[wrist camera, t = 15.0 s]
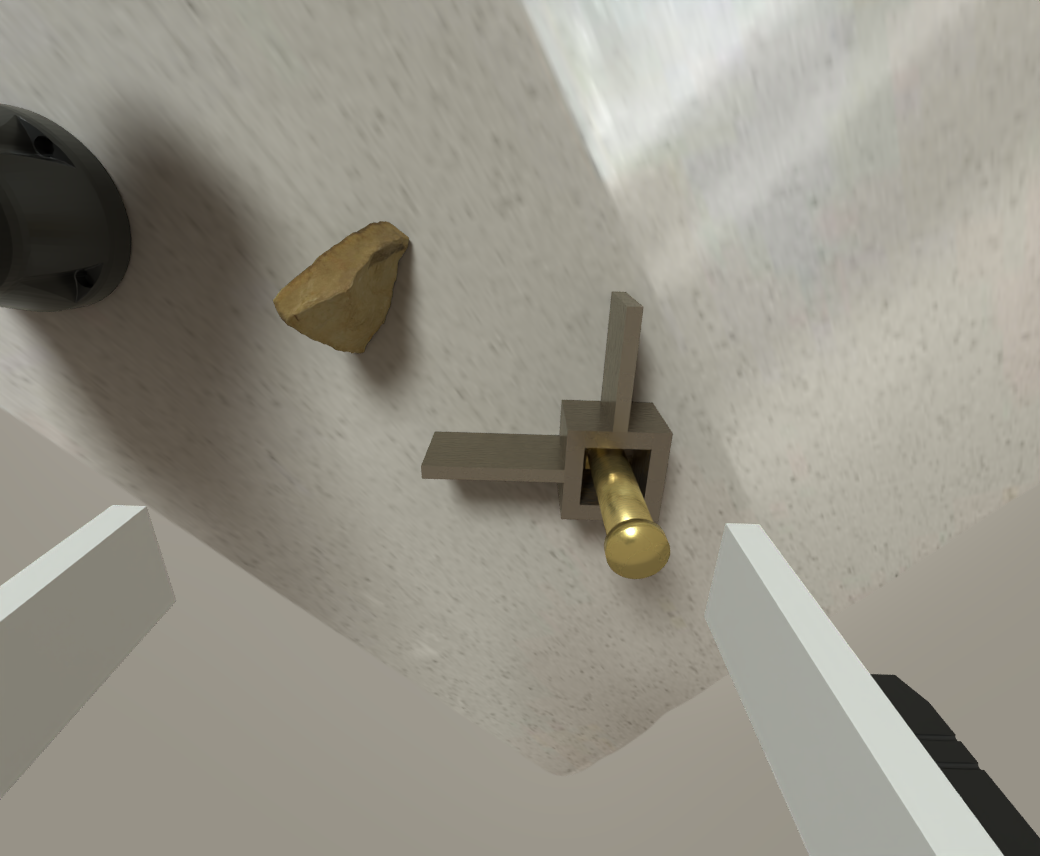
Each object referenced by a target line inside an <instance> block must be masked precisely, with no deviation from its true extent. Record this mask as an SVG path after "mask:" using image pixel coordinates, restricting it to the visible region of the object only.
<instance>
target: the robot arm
mask: <svg viewBox="0 0 1040 856" xmlns="http://www.w3.org/2000/svg"><path fill="white" fill-rule="evenodd" d="M130 249H131V237H130V228H129V222H128V218H127V214H126V211H125V208H124V205H123V202H122V200H121V198H120V195H119V193H118V191H117V189H116V187H115V185H114V183H113V182H112V180H111V178H110V177H109V175H108V174H107V172H106V171H105V169H104V168H103V167H102V165H101V164H100V163H99V161H98V160H97V159H96V158H95V156H94V155H93V154H92V153H91V152H90V151H89V150H88V149H87V148H86V147H85V146H84V145H83V144H82V143H81V142H80V141H79V140H78V139H76V138H75V137H74V136H73V135H72V134H70V133H69V132H68V131H66V130H65V129H64V128H62V127H61V126H59V125H58V124H56V123H54V122H53V121H51V120H49V119H47V118H45V117H43V116H41V115H39V114H37V113H34V112H32V111H29V110H26V109H23V108H19V107H15V106H10V105H5V104H0V307H6V308H13V309H21V310H29V311H37V312H56V311H64V310H69V309H73V308H78V307H82V306H86V305H90V304H93V303H95V302H97V301H100V300H101V299H103V298H105V297H106V296H107V295H109V294H110V293H111V292H112V291H113V290H114V289H115V288H116V287H117V286H118V284H119V283H120V281H121V280H122V278H123V276H124V274H125V272H126V269H127V266H128V262H129V258H130ZM175 602H176V599H175V595H174V592H173V589H172V586H171V583H170V579H169V576H168V573H167V570H166V567H165V564H164V560H163V557H162V554H161V551H160V548H159V545H158V541H157V538H156V535H155V532H154V529H153V526H152V522H151V519H150V516H149V513H148V510H147V507H146V506H124V505H123V506H122V505H112V506H111V507H109V508H108V509H106V510H105V511H104V512H103V513H101V514H100V515H98V516H97V517H95V518H94V519H93V520H92V521H90V522H88V523H87V524H86V525H84V526H83V527H82V528H80V529H79V530H78V531H76V532H75V533H73V534H72V535H71V536H69V537H68V538H66V539H65V540H64V541H62V542H61V543H60V544H58V545H57V546H55V547H54V548H53V549H51V550H50V551H48V552H47V553H46V554H44V555H43V556H41V557H40V558H39V559H38V560H36V561H35V562H33V563H32V564H30V565H29V566H28V567H26V568H25V569H24V570H22V571H21V572H20V573H18V574H17V575H15V576H14V577H12V578H11V579H10V580H8V581H7V582H6V583H4V584H3V585H1V586H0V800H1V798H2V797H3V796H4V795H5V794H6V792H8V791H9V789H10V788H11V787H12V786H13V785H14V784H15V783H16V781H17V780H18V779H19V778H20V777H21V776H22V775H23V774H24V772H25V771H26V770H27V769H28V768H29V767H30V766H31V765H32V763H33V762H34V761H35V760H36V759H37V758H38V757H39V755H40V754H41V753H42V752H43V751H44V750H45V749H46V748H47V746H48V745H49V744H50V743H51V742H52V741H53V740H54V738H55V737H56V736H57V735H58V734H59V733H60V732H61V730H62V729H63V728H64V727H65V726H66V725H67V724H68V723H69V722H70V720H71V719H72V718H73V717H74V716H75V715H76V714H77V713H78V711H79V710H80V709H81V708H82V707H83V706H84V705H85V703H86V702H87V701H88V700H89V699H90V698H91V697H92V696H93V694H94V693H95V692H96V691H97V690H98V689H99V687H100V686H101V685H102V684H103V683H104V682H105V681H106V680H107V679H108V677H109V676H110V675H111V674H112V673H113V672H114V671H115V669H116V668H117V667H118V666H119V665H120V664H121V663H122V662H123V660H124V659H125V658H126V657H127V656H128V655H129V654H130V652H132V650H133V649H134V648H135V647H136V646H137V645H138V644H139V642H140V641H141V640H142V639H143V638H144V637H145V636H146V635H147V633H148V632H149V631H150V630H151V629H152V628H153V627H154V626H155V624H156V623H157V622H158V621H159V620H160V619H161V618H162V616H163V615H164V614H165V613H166V612H167V611H168V610H169V609H170V607H171V606H172V605H173V604H174V603H175ZM704 617H705V619H706V621H707V624H708V626H709V628H710V631H711V633H712V635H713V637H714V640H715V642H716V644H717V646H718V649H719V651H720V653H721V656H722V658H723V660H724V662H725V665H726V667H727V669H728V672H729V674H730V676H731V678H732V681H733V683H734V685H735V688H736V690H737V692H738V694H739V697H740V699H741V701H742V704H743V706H744V708H745V710H746V713H747V715H748V717H749V719H750V722H751V724H752V726H753V729H754V731H755V733H756V735H757V738H758V740H759V742H760V744H761V747H762V749H763V751H764V753H765V756H766V758H767V760H768V763H769V765H770V767H771V769H772V772H773V774H774V777H775V779H776V781H777V783H778V786H779V788H780V790H781V793H782V795H783V797H784V799H785V801H786V804H787V806H788V808H789V810H790V813H791V815H792V818H793V820H794V822H795V824H796V827H797V829H798V831H799V834H800V836H801V838H802V840H803V843H804V845H805V847H806V850H807V852H808V854H809V856H1040V838H1039V837H1038V835H1037V834H1036V833H1035V832H1034V831H1033V829H1032V828H1031V827H1030V826H1029V825H1028V823H1027V822H1026V821H1025V820H1024V818H1023V817H1022V816H1021V815H1020V813H1019V812H1018V811H1017V810H1016V808H1015V807H1014V806H1013V805H1012V804H1011V802H1010V801H1009V800H1008V799H1007V797H1006V796H1005V795H1004V794H1003V793H1002V791H1001V790H1000V789H999V788H998V786H997V785H996V784H995V783H994V782H993V780H992V779H991V778H990V777H989V775H988V774H987V773H986V772H985V771H984V770H981V769H980V768H979V767H978V762H977V761H976V760H975V758H974V757H973V756H972V755H971V753H970V752H969V751H968V750H967V748H966V747H965V746H964V745H963V744H962V742H961V741H957V740H956V738H955V734H954V732H953V731H952V730H951V729H950V728H949V726H948V725H947V724H946V723H945V721H944V720H943V719H942V718H941V717H940V715H939V714H938V713H937V712H936V710H935V709H934V708H933V707H932V706H931V704H930V703H929V702H928V701H927V700H925V699H924V698H923V697H922V696H920V695H919V694H918V693H917V692H915V691H914V690H913V689H912V688H910V687H909V686H908V685H907V684H905V683H904V682H903V681H901V680H900V679H899V678H898V677H897V676H896V675H878V674H869V672H868V671H867V670H866V668H865V667H864V665H863V664H862V663H861V661H860V660H859V659H858V657H857V656H856V655H855V653H854V652H853V651H852V649H851V648H850V647H849V645H848V644H847V643H846V641H845V640H844V638H843V637H842V636H841V634H840V633H839V632H838V630H837V629H836V628H835V626H834V625H833V623H832V622H831V621H830V619H829V618H828V617H827V615H826V614H825V613H824V611H823V610H822V609H821V607H820V606H819V605H818V603H817V602H816V600H815V599H814V598H813V596H812V595H811V594H810V592H809V591H808V590H807V588H806V587H805V586H804V584H803V583H802V582H801V580H800V579H799V577H798V576H797V575H796V573H795V572H794V571H793V569H792V568H791V567H790V565H789V564H788V563H787V561H786V560H785V558H784V557H783V556H782V554H781V553H780V552H779V550H778V549H777V548H776V546H775V545H774V544H773V542H772V541H771V540H770V538H769V537H768V535H767V534H766V533H765V531H764V530H763V529H762V527H761V526H760V525H759V524H731V523H726V524H725V528H724V533H723V537H722V541H721V546H720V550H719V554H718V559H717V563H716V567H715V572H714V576H713V580H712V585H711V589H710V593H709V598H708V602H707V606H706V611H705V615H704Z"/></svg>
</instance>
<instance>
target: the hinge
mask: <svg viewBox="0 0 1040 856" xmlns="http://www.w3.org/2000/svg"><path fill="white" fill-rule="evenodd" d="M642 314H643V306H642V305H641V304H639V303H638V302H637V301H636V300H635V299H633V298H632V297H631V296H630V295H629V294H628V293H626V292H612V294H611V304H610V314H609V324H608V334H607V344H606V354H605V364H604V374H603V384H602V394H601V401H580V400H562V405H561V420H560V435H528V434H495V433H462V432H435V433H434V435H433V438H432V440H431V443H430V445H429V448H428V450H427V453H426V455H425V458H424V460H423V463H422V465H421V471H422V478H423V479H457V480H490V481H524V482H557V488H558V497H559V505H560V514H561V519H576V520H603V518H602V514H601V510H600V506H599V502H598V498H597V494H596V490H595V486H594V482H593V478H592V474H591V470H590V469H585V465H584V459H585V448H614V449H624V451H625V454H626V456H627V459H628V461H629V464H630V466H631V468H632V471H633V473H634V476H635V478H636V481H637V483H638V486H639V488H640V491H641V493H642V495H643V498H644V500H645V503H646V505H647V508H648V510H649V513H650V515H651V518H652V520H653V522H658V519H659V513H660V507H661V501H662V495H663V489H664V483H665V477H666V471H667V465H668V459H669V453H670V447H671V441H672V435H673V433H672V432H671V430H670V429H669V427H668V426H667V424H666V422H665V421H664V419H663V418H662V416H661V415H660V413H659V412H658V410H657V409H656V407H655V406H654V404H653V403H646V402H632V394H633V386H634V378H635V370H636V362H637V354H638V346H639V338H640V330H641V322H642Z"/></svg>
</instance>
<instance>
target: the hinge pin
mask: <svg viewBox="0 0 1040 856" xmlns="http://www.w3.org/2000/svg"><path fill="white" fill-rule="evenodd" d="M584 465H585V469H590V470H591V474H592V478H593V482H594V486H595V490H596V494H597V498H598V502H599V506H600V510H601V514H602V518H603V522H604V526H605V530H606V534H607V536H606V538H605V542H604V550H605V555H606V559H607V563H608V565H609V566H610V568H611V569H612V570H613V571H614V572H615V573H616V574H618V575H620V576H622V577H625V578H630V579H641V578H646V577H649V576H652V575H654V574H655V573H657V572H659V571H660V570H661V569H662V568H663V567H664V566H665V565H666V563H667V561H668V559H669V556H670V546H669V543H668V540H667V538H666V536H665V533H664V531H663V530H662V529H661V527H660V526H659V525H657V524H656V523H654V522H653V520H652V518H651V515H650V513H649V510H648V508H647V505H646V503H645V500H644V498H643V495H642V493H641V491H640V488H639V486H638V483H637V481H636V478H635V476H634V473H633V471H632V468H631V466H630V464H629V461H628V459H627V456H626V454H625V451H624V449H614V448H585V459H584Z"/></svg>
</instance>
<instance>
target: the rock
mask: <svg viewBox="0 0 1040 856" xmlns="http://www.w3.org/2000/svg"><path fill="white" fill-rule="evenodd" d="M408 242H409V237H407V236H406V235H405V234H404V233H402V232H401V231H400V230H398V229H397V228H396V227H395V226H394V225H392V224H390V223H389V222H386V221H385V222H382V221H380V222H379V223H375V222H373V223H370V224H369V225H367V226H366V227H364V228H363V229H361V230H359V231H358V232H354V233H352V234H350V235H349V236H347V237H346V238H344V239H343V240H342V241H341V242H340V243H338V244H336V245H334V246H333V247H332V248H330V249H329V250H328V251H326V252H324V253H323V254H322V255H321V256H319V257H318V258H317V259H316V260H315V261H314V263H313V264H312V265H311V266H309V267H308V268H307V269H306V270H304V271H303V272H302V273H301V274H300V275H298V276H297V277H295V278H294V279H293V280H292V281H291V282H290V283H289V284H288V285H287V286H285V287H284V288H282V289H281V290H280V292H279V293H278V294H277V296H276V297H275V298H274V299H273V302H274V305H275V308H276V310H277V312H278V314H279V316H280V317H281V319H282V320H283V321H284V322H285V323H286V324H287V325H288V326H291V327H293V328H294V329H296V330H297V331H299V332H300V333H301V334H304V335H306V336H307V337H309V338H310V339H313V340H315V341H319V342H321V343H323V344H327V345H329V346H331V347H333V348H334V349H335V350H338V351H343V352H351V353H355V352H356V353H363V352H364V351H365V347H366V344H367V343H368V342H369V341H370V340H371V338H372V337H373V335H374V334H375V333H376V332H377V331H378V330H379V328H380V326H381V325H382V324H384V322H385V317H386V314H387V312H388V309H389V308H390V305H391V298H392V295H393V291H392V289H393V286H394V282H395V281H396V277H397V267H398V261H399V259H400V258H401V257H402V255H403V253H404V252H405V251H406V249H407V247H408Z"/></svg>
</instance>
